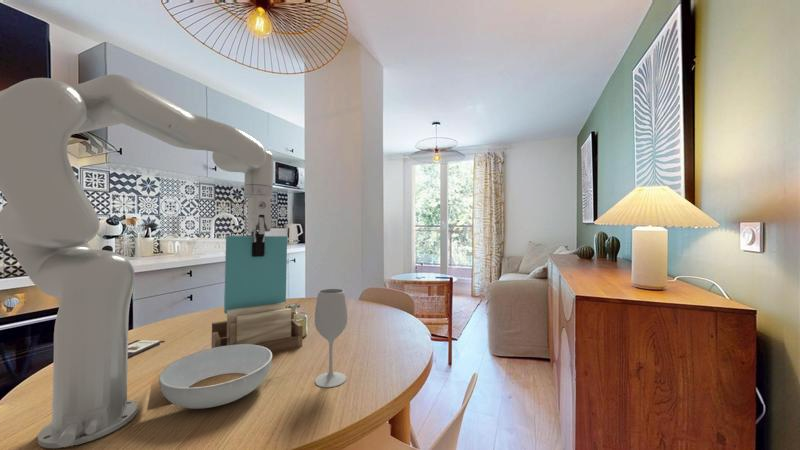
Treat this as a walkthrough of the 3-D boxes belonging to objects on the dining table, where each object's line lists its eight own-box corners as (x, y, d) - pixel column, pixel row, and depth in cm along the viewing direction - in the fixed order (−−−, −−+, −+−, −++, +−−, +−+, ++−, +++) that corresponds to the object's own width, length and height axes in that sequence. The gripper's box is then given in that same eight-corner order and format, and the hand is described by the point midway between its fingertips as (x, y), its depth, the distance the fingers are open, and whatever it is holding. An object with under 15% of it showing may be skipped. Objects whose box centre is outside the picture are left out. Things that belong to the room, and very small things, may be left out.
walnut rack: (302, 351, 89) (302, 318, 90) (214, 370, 77) (215, 332, 77) (292, 340, 98) (292, 311, 98) (211, 357, 85) (211, 322, 85)
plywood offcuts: (290, 347, 88) (291, 303, 89) (227, 360, 79) (228, 312, 79) (287, 343, 91) (288, 301, 91) (226, 356, 82) (227, 309, 82)
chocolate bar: (73, 365, 78) (137, 340, 96) (73, 369, 78) (137, 343, 96) (107, 366, 78) (164, 340, 96) (107, 370, 78) (164, 343, 96)
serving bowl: (151, 394, 66) (151, 361, 66) (252, 364, 81) (253, 338, 81) (167, 441, 51) (168, 399, 51) (288, 394, 66) (288, 362, 66)
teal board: (285, 306, 92) (287, 236, 93) (224, 313, 83) (226, 236, 83) (283, 304, 94) (285, 236, 94) (224, 312, 84) (226, 236, 85)
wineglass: (314, 390, 68) (314, 295, 68) (314, 374, 75) (314, 288, 75) (348, 385, 70) (349, 293, 70) (345, 370, 77) (345, 287, 77)
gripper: (279, 191, 85) (277, 257, 84) (266, 196, 98) (264, 254, 97) (249, 188, 81) (247, 258, 80) (240, 194, 94) (238, 254, 93)
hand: (257, 255), depth 89 cm, fingers closed on teal board, 2 cm apart
